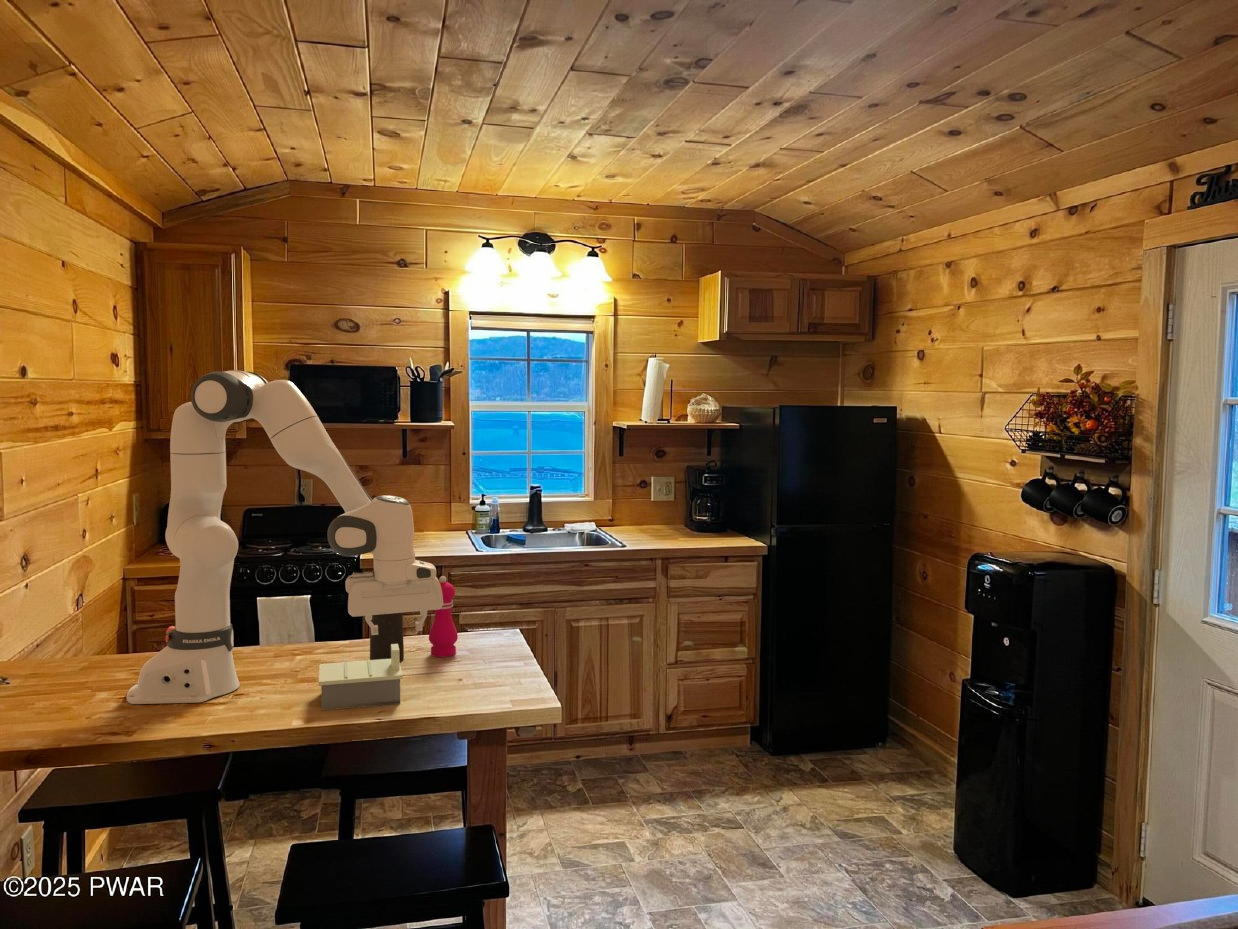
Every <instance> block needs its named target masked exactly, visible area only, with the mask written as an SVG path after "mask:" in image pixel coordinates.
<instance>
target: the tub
mask: <svg viewBox="0 0 1238 929" xmlns="http://www.w3.org/2000/svg"><path fill="white" fill-rule="evenodd" d="M320 687H321V690H320V691H321V692H320V693H321V711H330V710H331V709H332V710H340V709H339V708H343V709H353V708H364V707H374V706H385V705H387V706H388V705H397V704H401V679H394V680H381V681H369V682H357V683H345V684H332V685H320ZM337 708H338V709H337Z"/></svg>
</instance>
